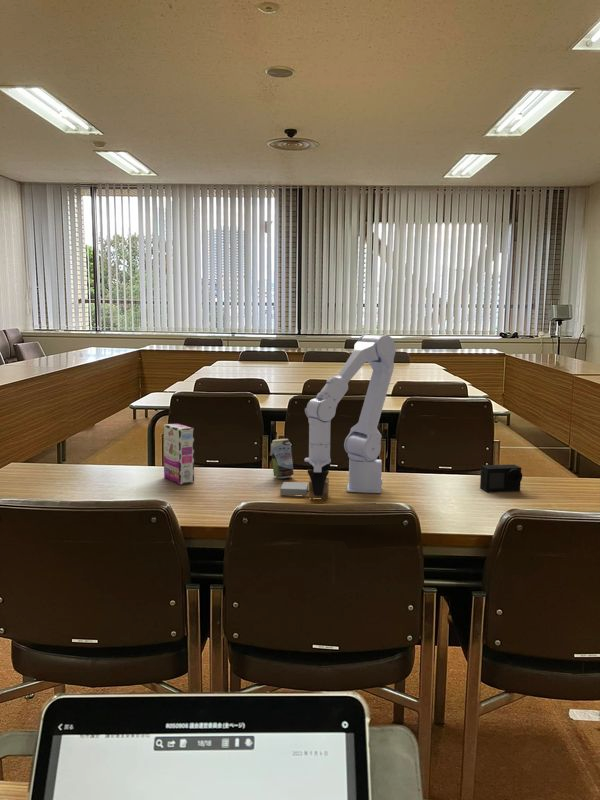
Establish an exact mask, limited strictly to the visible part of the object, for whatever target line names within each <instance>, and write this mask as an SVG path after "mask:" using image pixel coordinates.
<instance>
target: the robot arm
mask: <svg viewBox="0 0 600 800" xmlns="http://www.w3.org/2000/svg"><path fill="white" fill-rule="evenodd" d="M353 346H354V347H353V348H354V349H353V351H352V352H351V354H350V355H349V357H348V358H347V360H346V362H345V364H344V365H343V366H342V368H341V369H340V371H339V373H338V374H337V375H333V376H331V377H330V378H328V379H326V383H325V385H324V386H323V387H322V389H321V390H320V392H318V393H316V397H315V398H312V399H310V400H309V401H308V402H307V405H306V407H305V408H304V413H305V415H306V417H307V419H308V424H309V425H308V435H309V436H308V457H305V458H304V460H303V461H304V462H306V463H309V466H310V468H307V475H308V476H309V480H310V479H311V482H312V487H313V492H314V495H315V496H322V494H323V489H324V483H325V479H326V478H328V475H329V472H330V470H329V469H330V467H331V461H332V459H331V421H332V419H333V418H334V417H335V415H336V412H337V411H336V410H337V408H338V404H339V402H340V401H342V399H343V398H344V396H345V394H346V393H347V392H348V390H349V382H350V381H351V380H352V379H353V378H354V376H355V375H356V374H357V373H358V372H359V371H360V369H362V367H363V366H364V364H366V363H368V364H369V365H370V367H371V369H372V373H371V375H370V376H371V377H370V380H369V383H368V387H367V391H366V393H365V398H364V402H363V405H362V407H361V411H360V415H359V419H358V422H357V423H356V424H355V425H353V426H352V427H350V430H349V433H348V435H347V436H346V437H345V439H344V443H343V448H344V451H345V452H346V453H347V457H348V459H349V461H348V464H349V465H348V483H347V489H346V492H347V493H370V494H381V493H382V486H383V478H382V475H383V474H382V470H383V469H382V467H383V463H382V462H383V461H382V459H378V457H379V456H380V453H381V449H382V445H381V444H382V443H381V442H382V437H383V436H382V433H380V431H379V429H378V427H379V422H380V418H381V416H382V415H381V414H382V411H383V409H384V404H385V402H386V397H387V394H388V391H389V387H390V386H389V385H390V383H391V379H392V376H393V373H394V367H395V366H394V365H395V363H394V362H395V361H394V359H395V356H396V352H397V351H396V350H397V348H398V347H397V346H396V343H395V340H394V339H393V338H392V336H390V335H387V334H384V335H377V334H374V335H373V334H368V333H365V334H362V335H361V336H360V337H359V338H358V340H357V341H356V342H355V343H354V345H353Z"/></svg>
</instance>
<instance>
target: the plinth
mask: <svg viewBox="0 0 600 800" xmlns="http://www.w3.org/2000/svg"><path fill="white" fill-rule="evenodd" d="M307 491H308V492H309V482H297V481H296V482H293V481H289V482H288V481H283V483H282V485H281V488H280V496H281V495H302V496H301V497H303V496H306V497H307V495H306V494H308V492H307Z"/></svg>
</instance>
